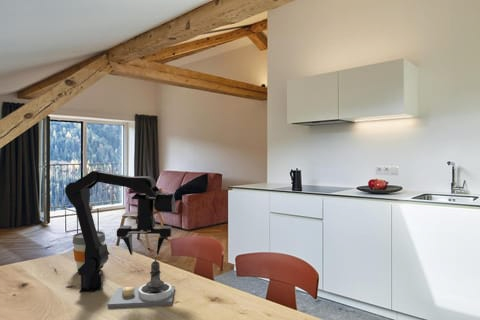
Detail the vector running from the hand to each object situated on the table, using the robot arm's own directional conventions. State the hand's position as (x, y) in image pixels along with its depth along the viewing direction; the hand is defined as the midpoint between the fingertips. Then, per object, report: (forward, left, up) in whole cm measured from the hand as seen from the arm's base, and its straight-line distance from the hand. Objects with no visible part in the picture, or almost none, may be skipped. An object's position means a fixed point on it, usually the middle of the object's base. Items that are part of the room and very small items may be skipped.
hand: (144, 254), depth 122 cm
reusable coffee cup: (-26, +23, -13) cm, 37 cm away
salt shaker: (+5, -7, -12) cm, 14 cm away
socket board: (+1, -7, -13) cm, 14 cm away
